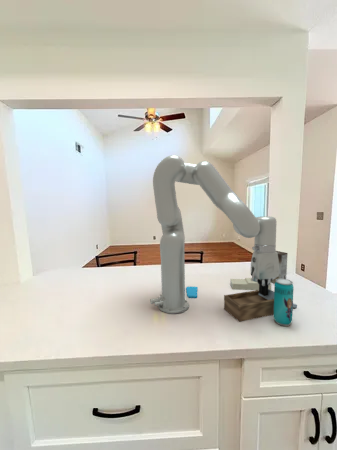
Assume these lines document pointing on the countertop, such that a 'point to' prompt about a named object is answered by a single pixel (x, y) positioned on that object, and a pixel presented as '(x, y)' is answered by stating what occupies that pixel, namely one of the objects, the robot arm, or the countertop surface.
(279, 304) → the beverage can
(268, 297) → the cover plate
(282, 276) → the coffee box
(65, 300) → the countertop surface
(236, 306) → the walnut box
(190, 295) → the sponge
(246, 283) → the electrical outlet
